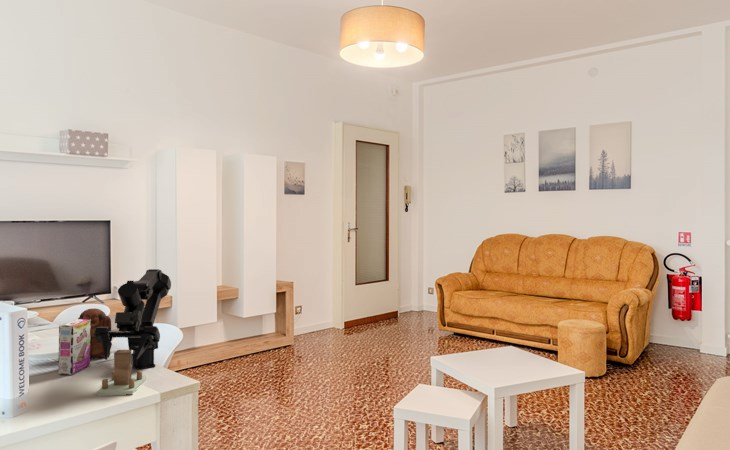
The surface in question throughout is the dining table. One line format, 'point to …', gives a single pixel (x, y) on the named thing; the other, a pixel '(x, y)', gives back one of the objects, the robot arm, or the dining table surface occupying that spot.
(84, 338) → the candy bar box
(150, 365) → the robot arm
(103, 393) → the peg stand
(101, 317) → the wooden figurine
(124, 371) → the brown wooden block
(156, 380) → the dining table surface
